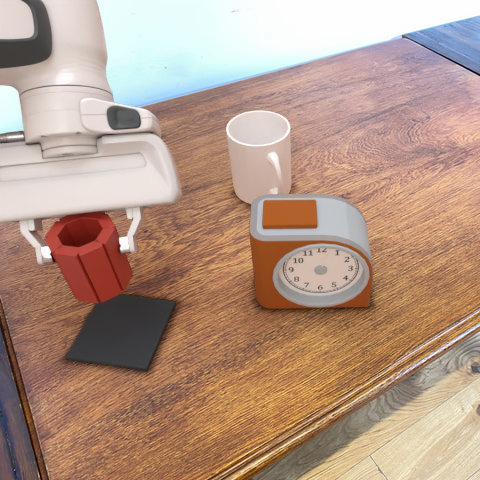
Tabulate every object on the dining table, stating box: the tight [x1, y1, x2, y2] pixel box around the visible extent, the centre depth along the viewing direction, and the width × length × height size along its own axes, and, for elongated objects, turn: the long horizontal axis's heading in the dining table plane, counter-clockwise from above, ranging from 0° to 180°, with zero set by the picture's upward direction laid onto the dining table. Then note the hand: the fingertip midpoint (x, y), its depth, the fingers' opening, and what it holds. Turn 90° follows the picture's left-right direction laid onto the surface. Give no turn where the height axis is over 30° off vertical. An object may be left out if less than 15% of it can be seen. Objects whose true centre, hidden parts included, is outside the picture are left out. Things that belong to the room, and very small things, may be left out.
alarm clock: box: [248, 193, 374, 310], centre depth 65 cm, size 15×8×14 cm, turn 92°
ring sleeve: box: [44, 212, 134, 304], centre depth 54 cm, size 6×6×8 cm
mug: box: [225, 110, 293, 205], centre depth 79 cm, size 10×12×12 cm
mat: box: [65, 293, 177, 372], centre depth 64 cm, size 10×10×1 cm
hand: (89, 258), depth 53 cm, fingers closed on ring sleeve, 7 cm apart
